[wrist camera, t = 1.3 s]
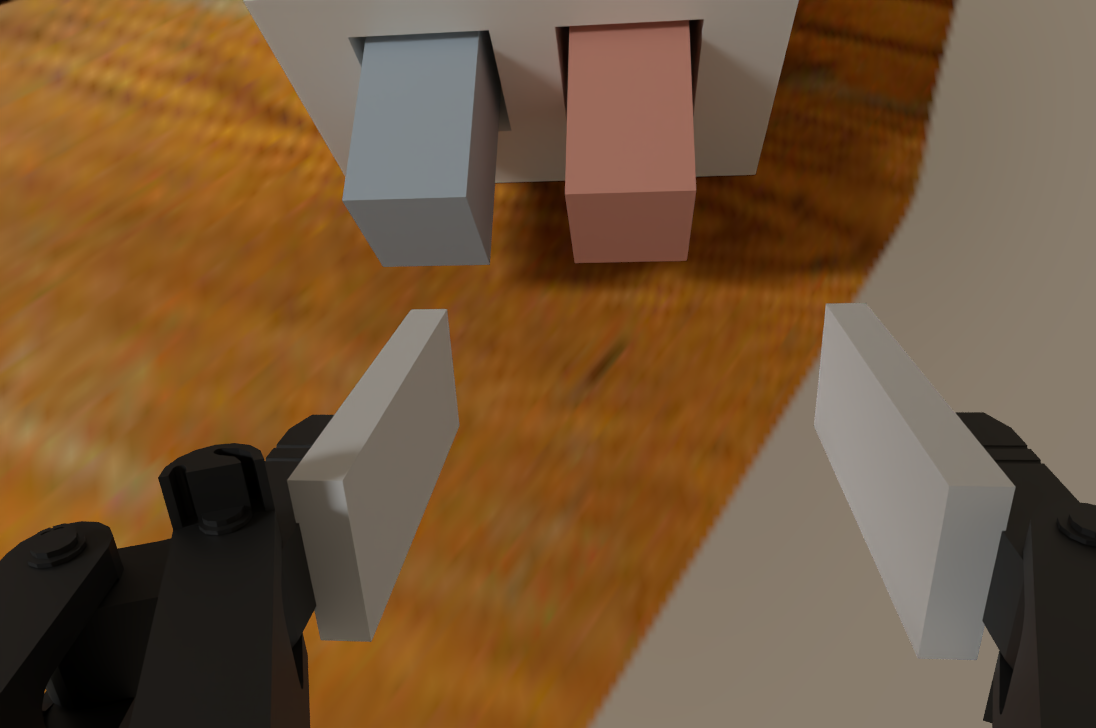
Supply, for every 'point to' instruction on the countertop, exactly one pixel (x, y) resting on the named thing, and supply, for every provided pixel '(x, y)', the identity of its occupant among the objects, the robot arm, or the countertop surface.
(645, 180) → the brick key
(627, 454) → the countertop surface
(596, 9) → the plain grey box
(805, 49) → the countertop surface
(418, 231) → the slate key
